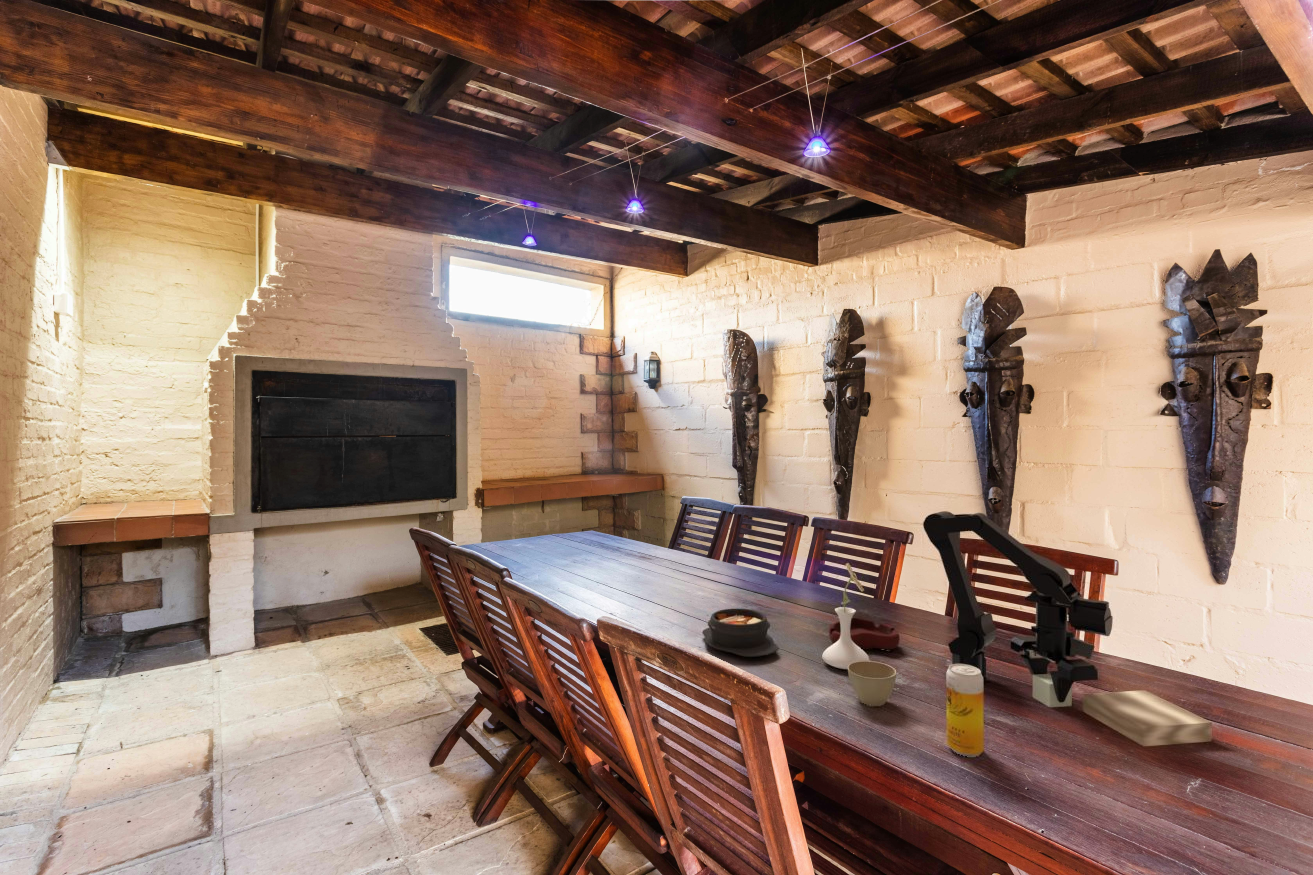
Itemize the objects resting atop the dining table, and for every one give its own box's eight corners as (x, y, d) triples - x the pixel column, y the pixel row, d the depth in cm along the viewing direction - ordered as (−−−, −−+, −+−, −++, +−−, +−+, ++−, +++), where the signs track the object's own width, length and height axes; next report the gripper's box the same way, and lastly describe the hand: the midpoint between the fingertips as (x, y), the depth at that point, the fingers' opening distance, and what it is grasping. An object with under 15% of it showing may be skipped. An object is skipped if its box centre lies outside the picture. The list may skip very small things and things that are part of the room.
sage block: (1049, 707, 129) (1049, 684, 129) (1032, 697, 134) (1032, 674, 134) (1071, 706, 129) (1071, 682, 129) (1053, 695, 134) (1053, 673, 134)
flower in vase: (864, 677, 145) (863, 572, 145) (816, 668, 151) (815, 567, 151) (875, 659, 157) (874, 561, 156) (830, 651, 162) (829, 557, 162)
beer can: (940, 742, 116) (939, 663, 115) (970, 740, 116) (970, 661, 116) (958, 759, 109) (958, 676, 109) (991, 757, 110) (990, 674, 110)
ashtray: (886, 634, 176) (886, 616, 176) (903, 655, 159) (903, 636, 159) (822, 632, 177) (822, 615, 177) (833, 653, 161) (833, 635, 161)
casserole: (687, 638, 174) (686, 609, 174) (741, 627, 182) (741, 599, 182) (735, 669, 152) (735, 635, 152) (795, 655, 160) (795, 623, 160)
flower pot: (895, 694, 136) (895, 662, 136) (897, 715, 126) (897, 680, 126) (848, 689, 139) (848, 657, 139) (847, 708, 130) (846, 675, 130)
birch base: (1143, 748, 113) (1143, 727, 113) (1083, 713, 127) (1083, 694, 127) (1211, 743, 115) (1211, 722, 114) (1144, 708, 128) (1144, 690, 128)
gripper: (1123, 637, 123) (1123, 714, 123) (1053, 609, 141) (1054, 676, 142) (1071, 640, 122) (1072, 717, 122) (1008, 611, 140) (1009, 679, 141)
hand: (1051, 696), depth 132 cm, fingers open, 5 cm apart
